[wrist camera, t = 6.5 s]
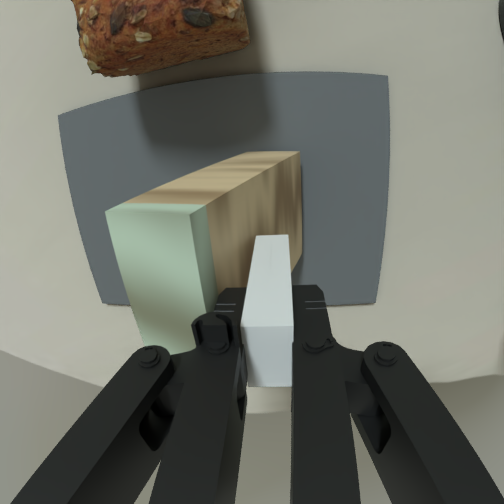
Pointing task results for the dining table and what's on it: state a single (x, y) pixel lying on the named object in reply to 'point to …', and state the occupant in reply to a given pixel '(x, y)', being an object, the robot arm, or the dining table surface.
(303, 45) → the dining table surface
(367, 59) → the dining table surface
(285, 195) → the slab
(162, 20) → the bread
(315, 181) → the mat
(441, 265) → the dining table surface
